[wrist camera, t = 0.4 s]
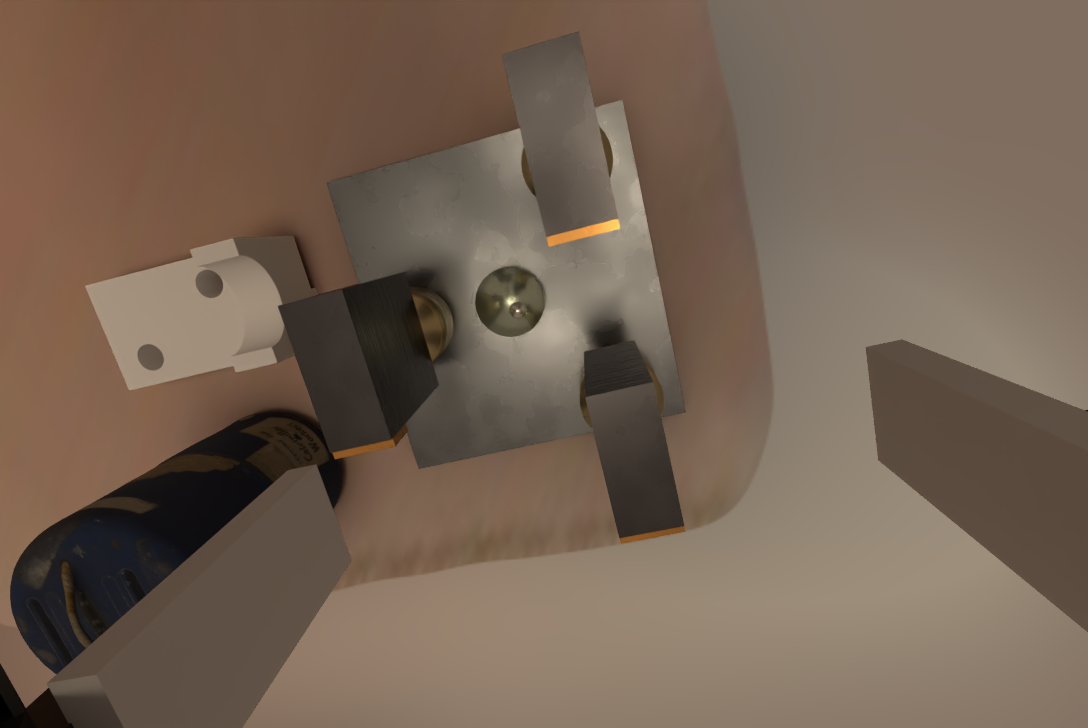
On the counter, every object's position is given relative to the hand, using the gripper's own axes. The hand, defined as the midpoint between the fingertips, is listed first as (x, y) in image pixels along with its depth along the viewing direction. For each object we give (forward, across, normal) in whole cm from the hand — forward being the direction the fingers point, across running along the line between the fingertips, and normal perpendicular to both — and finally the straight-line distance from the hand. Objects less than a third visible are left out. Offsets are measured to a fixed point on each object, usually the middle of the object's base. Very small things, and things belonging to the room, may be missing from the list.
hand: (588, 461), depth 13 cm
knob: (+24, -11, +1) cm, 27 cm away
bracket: (+26, -24, +5) cm, 35 cm away
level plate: (+25, -4, +1) cm, 25 cm away
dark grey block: (+24, +1, +8) cm, 26 cm away
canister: (+25, -24, -7) cm, 35 cm away
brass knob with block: (+24, +1, -6) cm, 25 cm away
